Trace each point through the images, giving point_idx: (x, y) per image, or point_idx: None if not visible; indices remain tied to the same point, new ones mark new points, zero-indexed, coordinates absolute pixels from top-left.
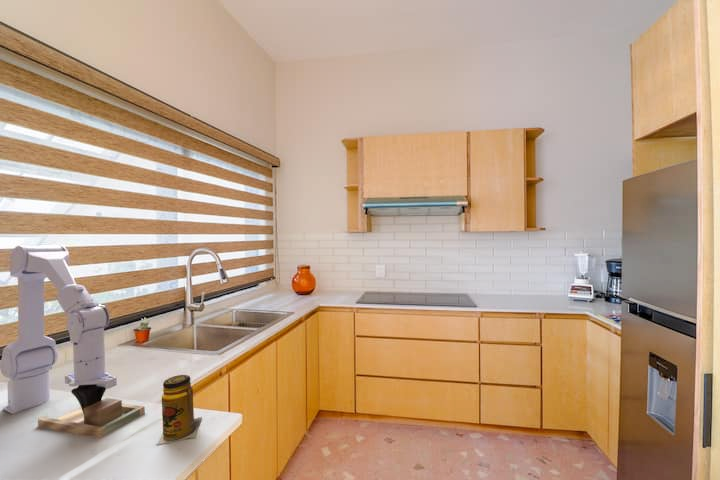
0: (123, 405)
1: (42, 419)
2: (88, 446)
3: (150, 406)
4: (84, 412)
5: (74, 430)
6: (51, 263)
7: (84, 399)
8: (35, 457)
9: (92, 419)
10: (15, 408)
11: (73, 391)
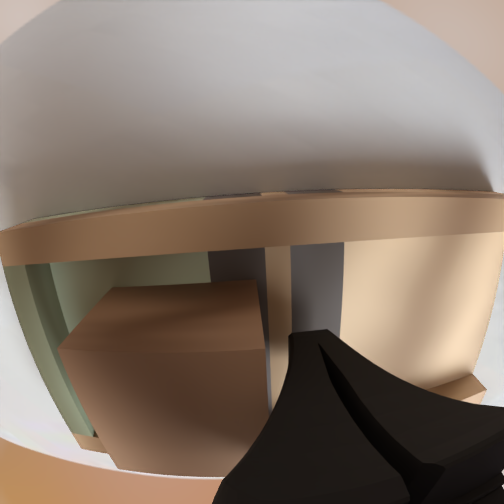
0: None
1: None
2: (46, 178)
3: None
4: (254, 327)
5: (209, 201)
6: None
7: (307, 422)
8: (212, 16)
9: (159, 307)
10: None
11: (487, 440)
